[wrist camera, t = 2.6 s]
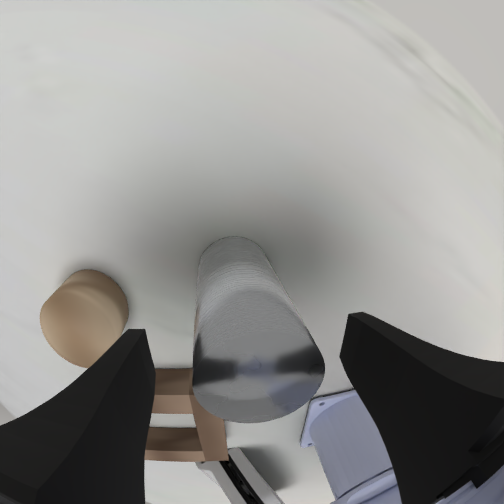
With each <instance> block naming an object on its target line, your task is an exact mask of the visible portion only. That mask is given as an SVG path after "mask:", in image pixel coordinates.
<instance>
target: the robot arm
mask: <svg viewBox="0 0 504 504" xmlns="http://www.w3.org/2000/svg"><path fill="white" fill-rule="evenodd" d="M339 357H340V359H341V362H342V364H343V367H344V369H345V372H346V374H347V376H348V378H349V380H350V382H351V384H352V385H353V387H354V389H355V390H352V391H348V392H344V393H340V394H336V395H331V396H327V397H322V398H317V399H314V400H312V401H311V402H310V405H309V409H308V414H307V418H306V422H305V426H304V430H303V434H302V438H301V441H300V446H301V447H302V448H304V447H309V446H315V448H316V451H317V454H318V456H319V459H320V461H321V464H322V466H323V469H324V472H325V474H326V477H327V479H328V482H329V484H330V487H331V490H332V492H333V495H334V497H335V500H336V501H334V502H331V503H330V504H504V362H496V361H489V360H483V359H478V358H474V357H469V356H465V355H461V354H458V353H455V352H452V351H449V350H446V349H443V348H440V347H437V346H435V345H433V344H430V343H428V342H426V341H423V340H421V339H419V338H417V337H414V336H412V335H410V334H408V333H406V332H404V331H402V330H400V329H398V328H396V327H394V326H392V325H390V324H388V323H386V322H384V321H382V320H380V319H378V318H376V317H374V316H372V315H369V314H367V313H364V312H358V313H351V314H348V319H347V324H346V329H345V334H344V339H343V343H342V348H341V352H340V356H339ZM155 380H156V372H155V368H154V364H153V360H152V357H151V353H150V349H149V344H148V340H147V336H146V332H145V329H128V330H127V331H126V332H125V333H124V334H123V335H122V336H121V337H120V338H119V339H118V340H117V341H116V342H115V343H114V344H113V345H112V346H111V347H110V348H109V349H108V350H107V351H106V352H105V353H104V354H103V355H102V356H101V357H100V358H99V359H98V360H97V361H96V362H95V363H94V364H93V365H92V366H90V367H89V368H88V369H87V370H86V371H85V372H84V373H83V374H82V375H80V376H79V377H78V378H77V379H76V380H75V381H74V382H73V383H71V384H70V385H69V386H68V387H66V388H65V389H64V390H62V391H61V392H60V393H58V394H57V395H56V396H54V397H53V398H51V399H50V400H48V401H47V402H45V403H43V404H42V405H40V406H38V407H37V408H35V409H33V410H32V411H30V412H28V413H27V414H25V415H23V416H21V417H19V418H17V419H15V420H13V421H10V422H8V423H6V424H3V425H1V426H0V504H145V490H144V458H145V448H146V442H147V436H148V430H149V424H150V419H151V413H152V408H153V402H154V396H155Z"/></svg>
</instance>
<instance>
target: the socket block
mask: <svg viewBox="0 0 504 504" xmlns="http://www.w3.org/2000/svg"><path fill="white" fill-rule="evenodd" d="M155 372H156V380H155V396H154V402H153V408H152V413H163V414H193V415H194V419H195V423H196V427H197V428H155V427H149V430H148V436H147V442H146V448H145V458H144V460H156V461H180V462H201V461H225V460H229V458H228V450H227V442H226V433H225V425H224V419H221V418H219V417H216V416H215V415H213V414H211V413H209V412H208V411H207V410H205V409H204V408H203V407H202V406H201V405H200V403H199V402H198V401H197V399H196V397H195V395H194V392H193V387H192V373H193V368H189V369H155Z"/></svg>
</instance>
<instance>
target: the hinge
mask: <svg viewBox="0 0 504 504" xmlns="http://www.w3.org/2000/svg"><path fill="white" fill-rule="evenodd" d="M228 453H229V454H228V458H229V462H230V463H229V464H227V463H226V462H225V461H206V462H205V463H204V462H203V461H201V462H195V463H196V465H197V467H198V468H199V469H200V470H201V471H202V472H203V473H204V474H205V475H207V476H208V477H209V478H210V479H211V480H212V481H214V482H215V483H216V484H217V485H219V486H220V487H221V488H222V489H223V491H224V493H225V494H226V496H227V497H228V499H229V500H230V502H231V503H232V504H284V503H283V501H282V500H281V499H280V498H279V496H278V495H277V494H276V493H275V491H274V490H273V489H272V488H271V487H270V486H269V484H268V483H267V482H266V481H265V480H264V479H263V477H262V476H261V475H260V474H259V473H258V471H257V470H256V469H255V468H254V466H253V465H252V464H251V463H250V461H249V460H248V459H247V457H246V456H245V455H244V454H243V452H242V451H241V450H240V448H239V447H237V448H232V449H229V450H228ZM240 480H242V481H243V482H242V483H240V482H239V481H240Z"/></svg>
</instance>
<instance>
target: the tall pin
mask: <svg viewBox="0 0 504 504" xmlns="http://www.w3.org/2000/svg"><path fill="white" fill-rule="evenodd" d="M324 373H325V363H324V359H323V357H322V354H321V352H320V351H319V349H318V347H317V345H316V344H315V342H314V340H313V338H312V336H311V335H310V333H309V331H308V329H307V328H306V326H305V324H304V322H303V321H302V319H301V317H300V315H299V313H298V312H297V310H296V308H295V306H294V305H293V303H292V301H291V299H290V298H289V296H288V294H287V292H286V291H285V289H284V287H283V285H282V284H281V282H280V280H279V278H278V277H277V275H276V273H275V271H274V270H273V268H272V266H271V265H270V263H269V261H268V259H267V258H266V256H265V254H264V252H263V251H262V250H261V248H260V247H259V246H258V245H257V244H255V243H254V242H252V241H251V240H248V239H246V238H242V237H226V238H223V239H220V240H218V241H216V242H214V243H213V244H211V245H210V246H209V247H208V248H207V249H206V250H205V251H204V253H203V255H202V257H201V259H200V262H199V267H198V280H197V293H196V308H195V325H194V345H193V373H192V387H193V392H194V395H195V397H196V399H197V401H198V402H199V403H200V405H201V406H202V407H203V408H204V409H205V410H207V411H208V412H209V413H211V414H213V415H215V416H216V417H219V418H221V419H224V420H228V421H232V422H238V423H259V422H266V421H270V420H274V419H277V418H280V417H283V416H285V415H288V414H290V413H292V412H294V411H295V410H297V409H298V408H300V407H301V406H303V405H304V404H305V403H307V402H308V401H309V400H310V399H311V398H312V397H313V396H314V394H315V393H316V392H317V390H318V389H319V387H320V385H321V383H322V381H323V378H324Z"/></svg>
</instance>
